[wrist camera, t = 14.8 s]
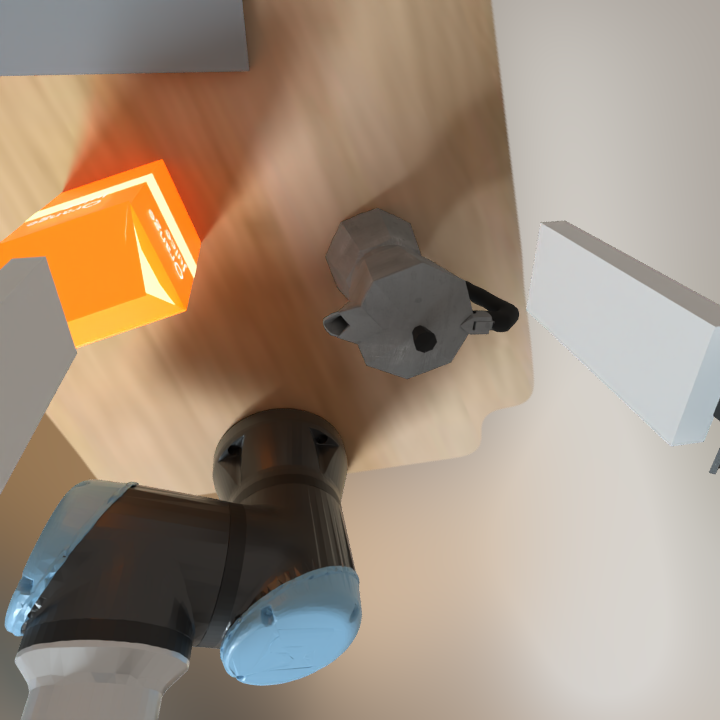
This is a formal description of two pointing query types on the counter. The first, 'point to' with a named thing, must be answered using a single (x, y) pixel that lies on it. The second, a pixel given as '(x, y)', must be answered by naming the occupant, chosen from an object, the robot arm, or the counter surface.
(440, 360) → the coffeepot
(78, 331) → the orange juice
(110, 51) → the socket block
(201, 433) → the counter surface
